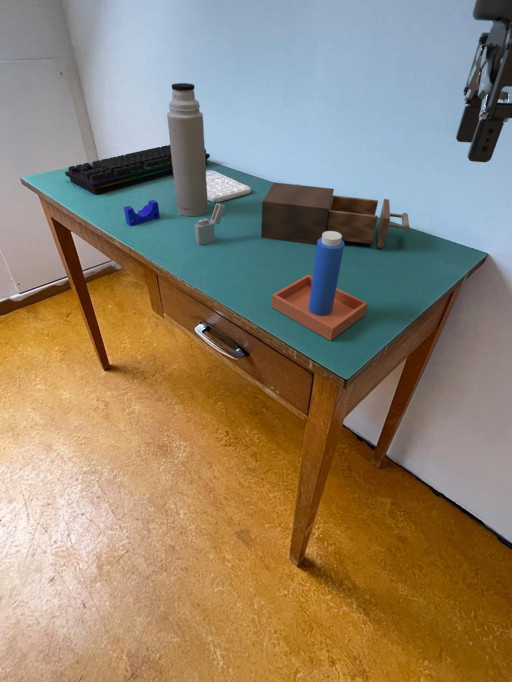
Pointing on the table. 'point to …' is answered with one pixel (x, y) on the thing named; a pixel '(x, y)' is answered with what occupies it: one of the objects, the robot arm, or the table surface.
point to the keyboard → (123, 170)
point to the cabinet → (295, 212)
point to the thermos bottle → (187, 151)
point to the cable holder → (142, 213)
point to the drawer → (361, 219)
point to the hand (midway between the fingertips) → (470, 150)
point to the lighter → (208, 226)
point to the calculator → (223, 187)
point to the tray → (329, 326)
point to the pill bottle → (326, 273)
